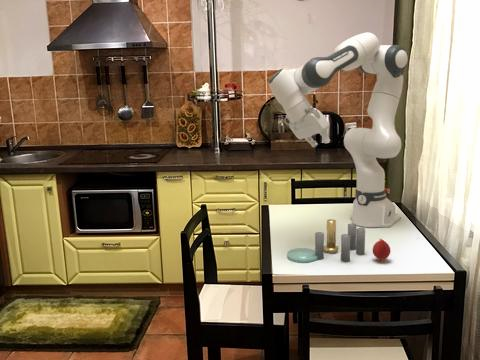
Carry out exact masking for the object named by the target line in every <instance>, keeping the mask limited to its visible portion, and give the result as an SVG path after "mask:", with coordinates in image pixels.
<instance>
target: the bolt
mask: <svg viewBox="0 0 480 360" xmlns="http://www.w3.org/2000/svg"><path fill="white" fill-rule="evenodd" d="M336 236H337V221H336V219H331V218H329V219H326V245H325V244H324V253H325V254H329V255H333V254H334V255H335V254H338V253H339V246H337V244H336V243H337V241H336V239H337V237H336Z"/></svg>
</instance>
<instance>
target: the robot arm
mask: <svg viewBox="0 0 480 360" xmlns="http://www.w3.org/2000/svg"><path fill="white" fill-rule="evenodd" d="M408 62H409V54H408V51H407V49H406V48H405V47H404V46H401V45H398V44H393V45H390V44H381V45H380V40H379V39H378V37H377V35H375V34H374V33H372V32H369V31H368V32H367V31H366V32H361V33H359V34H356V35H354V36H352V37H349V38H348V39H345V40H344V41H343V42H341V43H340V44H339V45H337V47H335V48H334V51H333V53H332V54H330V55H328V56H317V57H312V58H311V59H309V60H308V61H307V62H306V63H304V64H303V65H301V66H300V67H299V68H294V69H292V68H291V69H285V68H284V67H283V68H280V69H279V70H277V71H276V73H273V75H271V77H270V78H269V81H268V86H269V89H270V91H271V93H272V94H273V96H274V98H275V99H276V101H277V102H278V104H279V105H281V106H282V108H283V111H284V112H285V114H286V116H285V118H284V120H283V121H284V124H286V125H287V126H288V127H289V129H290V130H291V131H292V133H293V134H294V136H295V137H296V138H297V139H298V140H305V141H306V142H307V143H309V144H310V145H311V148H315V147H317V146H318V145H319V144H318V142H317V140H314V138H313V137H312V136H315V135H317V134H319V135H320V136H321V137H322V141H323V143H324V144H329V143H330V142H331V139H330V137H329V136H328V131H327V130H329V128H330V127H331V126H330V122H329V121H328V119H327V118H326V117H325V115H324V114H323V113H322V112H321V111H320V110H319V109H317V108H315V107H313V106H312V105H311V103H310V102H309V99H307V97H306V96H307V95H309V94H311V93H312V92H314V91H316V90H318V89H320V88H323V87H324V86H327V85H328V84H329V83H330V82H331V81H332V79H333V77H334V76H335V74H336V73H338V72H339V71H345V72H349V71H352V70H354V69H358V70H359V71H360V72H361V73H364V74H367V75H370V74H373V75H376V81H375V85H374V87H373V90H372V93H371V97H370V98H369V99H370V100H369V103H368V106H367V109H366V111H367V115H368V116H369V117H370V119H372V127H371V128H367V127H354V128H351V129H348V130H347V131H346V133H345V135H344V138H343V144H344V148H345V149H346V150H347V151H348V153H349V154H350V155H351V158H352V159H353V163H354V166H355V170H356V171H355V172H356V188H355V193H354V195H355V197H354V198H355V199H354V200H353V203H352V204H353V205H352V210H351V211H352V213H351V215H349V219H350V220H351V222H352V223H351V224H356V226H358V227H362V228H389V227H392V226H393V225H394V224H395V223H397V222H398V221H399V220H401V219H402V216H401V215H400V214H398V213H396V205H395V204H394V203H393V202H392V201H391V200H390V199H389V198H388V196H387V194H390V191H391V190H390V188H385V183H386V181H385V179H386V176H385V175H386V174H385V170H384V168H383V167H382V166H381V165H380V164H379V162H378V161H377V158H378V159H392V158H396V157H397V156H398V155H399V153H400V152H401V149H402V139H401V137H400V136H399V134H398V133H397V130H396V125H395V119H396V114H397V110H398V106H399V102H400V99H401V97H402V92H403V85H404V76H403V74H404V72H405V70H406V69H407V66H408Z"/></svg>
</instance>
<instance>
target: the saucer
mask: <svg viewBox="0 0 480 360" xmlns="http://www.w3.org/2000/svg"><path fill="white" fill-rule="evenodd" d="M286 258H287V259H288V260H289V261H291V262H295V263H299V264H307V263H313V262H315V261H317V260H318V259H317V256H316V255H315V249H312V248H307V247H297V248H292V249H290V250H288V251H287V252H286Z"/></svg>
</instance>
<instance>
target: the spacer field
mask: <svg viewBox="0 0 480 360" xmlns="http://www.w3.org/2000/svg"><path fill="white" fill-rule="evenodd" d="M340 236H341V237H340V238H341V239H340V261H341V262H342V263H349V262H350V260H351V259H350V258H351V251H355V254H356V255H358V256H363V255H365V254H366V253H365V251H366V228H365V227H358V228H357V225H356V224H354V223H348V224H347V233H344V234H341V235H340ZM324 246H325V233H324V232H322V231H317V232H315V233H314V250H315V255H316V256H317V260H324V258H325V254H324V253H325V252H324Z"/></svg>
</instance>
